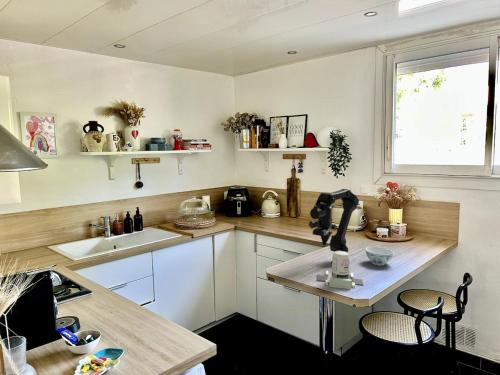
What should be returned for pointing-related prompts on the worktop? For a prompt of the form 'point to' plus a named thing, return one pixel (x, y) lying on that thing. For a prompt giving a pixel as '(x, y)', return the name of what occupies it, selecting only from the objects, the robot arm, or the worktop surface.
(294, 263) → the worktop surface
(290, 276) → the worktop surface
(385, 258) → the chinaware
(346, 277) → the supplement can
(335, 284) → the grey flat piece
